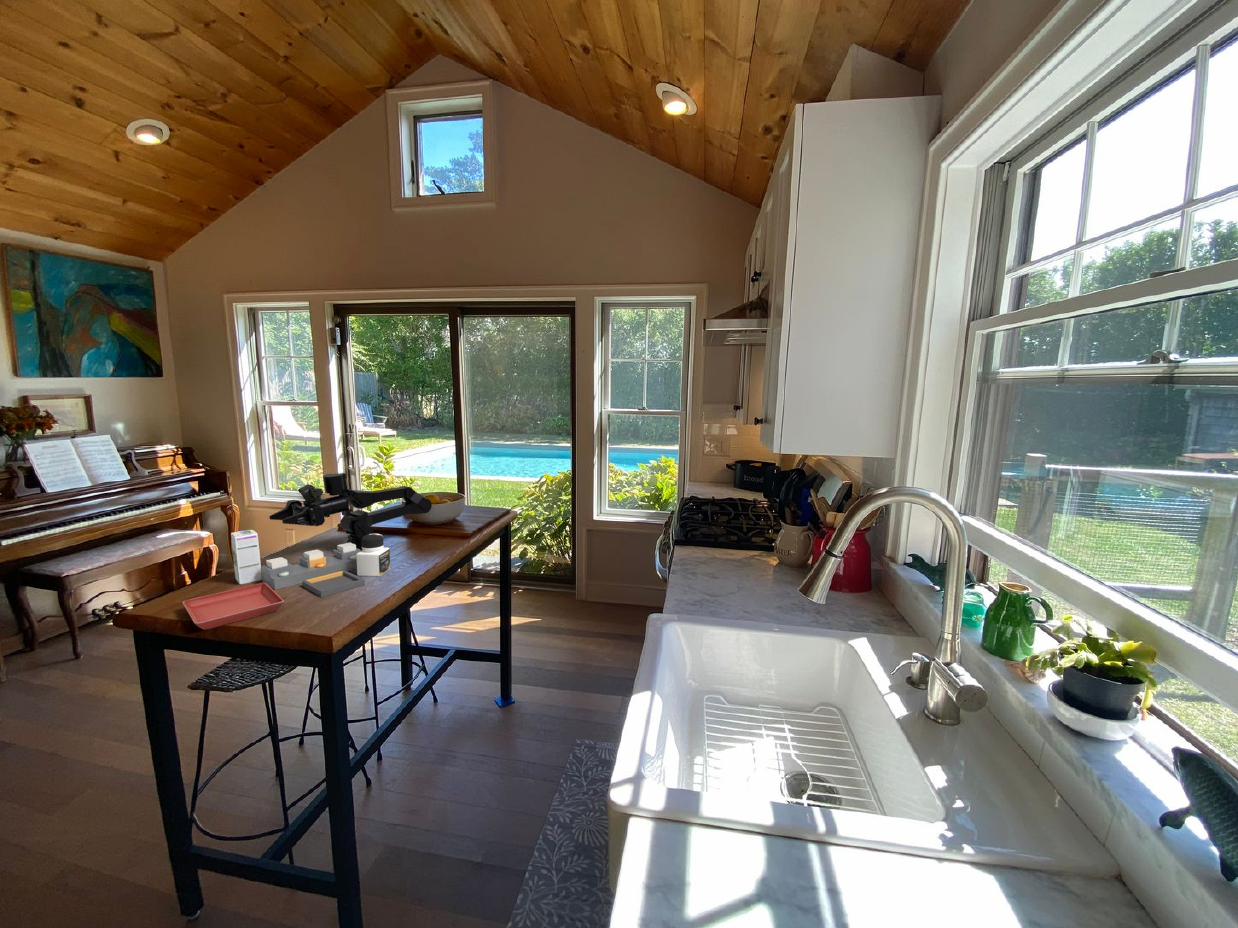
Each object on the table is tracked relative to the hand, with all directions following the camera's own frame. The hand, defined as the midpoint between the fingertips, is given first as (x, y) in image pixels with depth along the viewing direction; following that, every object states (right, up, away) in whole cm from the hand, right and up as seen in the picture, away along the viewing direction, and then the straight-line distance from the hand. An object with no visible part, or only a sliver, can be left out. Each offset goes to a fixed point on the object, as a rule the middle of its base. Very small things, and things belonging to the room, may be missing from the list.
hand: (276, 519), depth 158 cm
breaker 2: (+17, -11, +9) cm, 22 cm away
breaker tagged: (+11, -12, +1) cm, 17 cm away
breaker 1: (+5, -13, -7) cm, 16 cm away
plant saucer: (+7, -21, -26) cm, 34 cm away
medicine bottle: (+28, -17, +4) cm, 33 cm away
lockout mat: (+22, -18, -8) cm, 30 cm away
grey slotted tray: (+12, -17, +1) cm, 21 cm away
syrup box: (-5, -17, -5) cm, 19 cm away
